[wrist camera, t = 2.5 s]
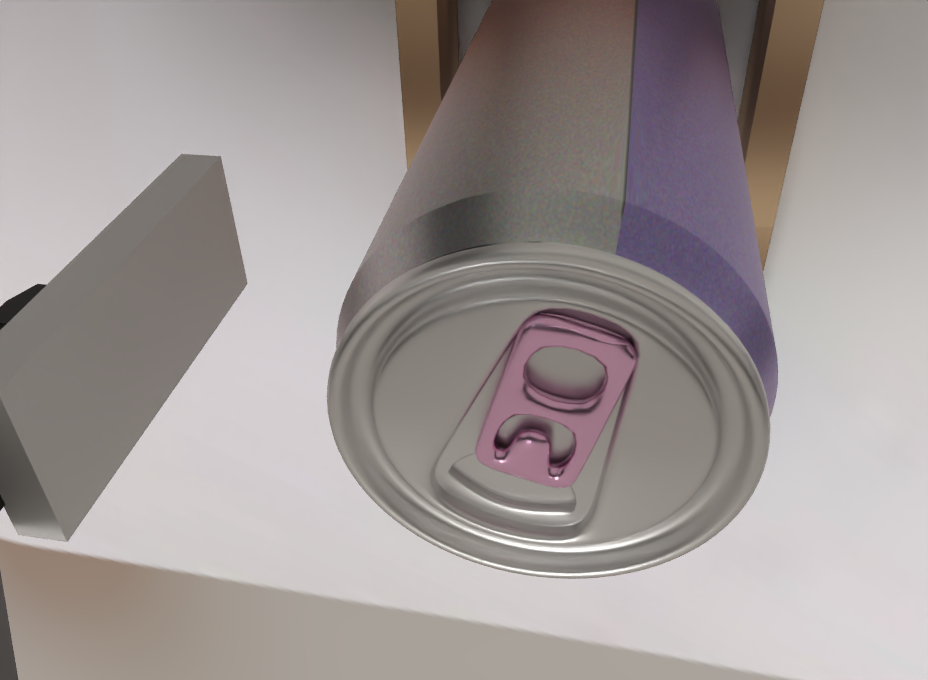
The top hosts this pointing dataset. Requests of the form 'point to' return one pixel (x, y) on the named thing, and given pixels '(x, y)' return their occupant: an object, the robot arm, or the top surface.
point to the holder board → (761, 112)
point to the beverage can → (566, 301)
